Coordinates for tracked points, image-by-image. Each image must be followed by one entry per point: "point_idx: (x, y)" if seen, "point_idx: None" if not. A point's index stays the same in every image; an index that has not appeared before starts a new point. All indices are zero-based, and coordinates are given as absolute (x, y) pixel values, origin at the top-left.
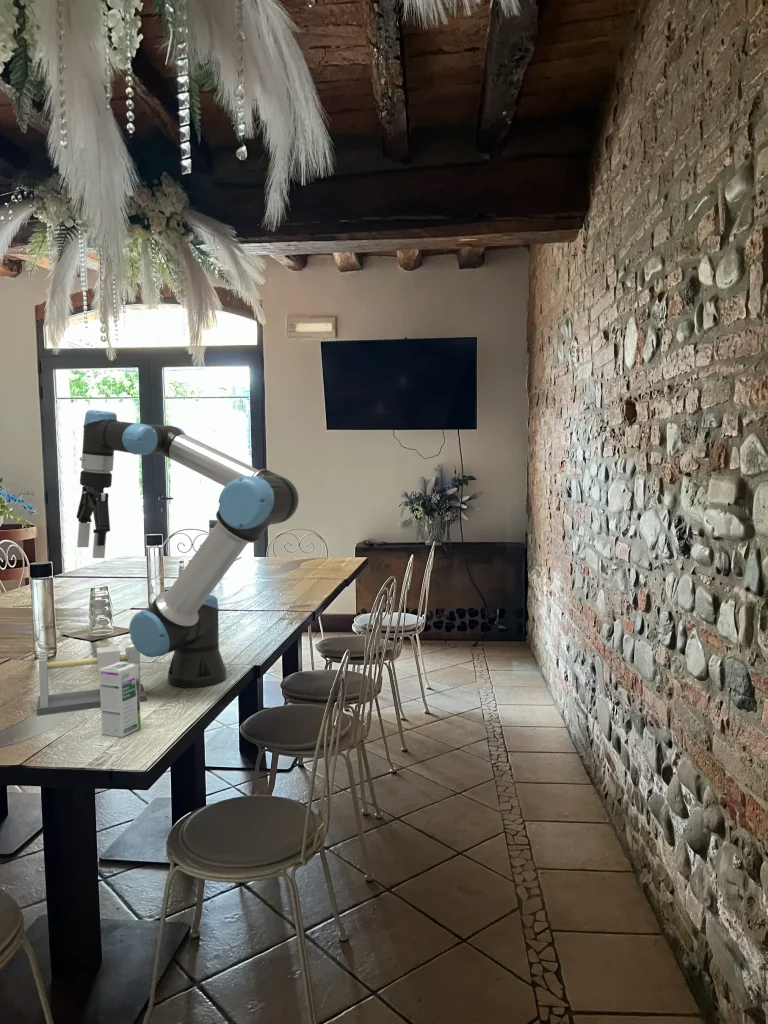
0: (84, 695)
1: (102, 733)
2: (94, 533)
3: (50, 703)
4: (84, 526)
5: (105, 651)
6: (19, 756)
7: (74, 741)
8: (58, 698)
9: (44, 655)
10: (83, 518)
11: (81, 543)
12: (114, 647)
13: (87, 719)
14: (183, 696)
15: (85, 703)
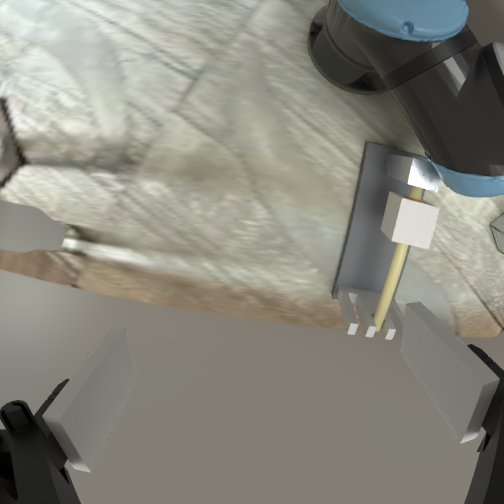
0: (374, 240)
1: (498, 250)
2: (460, 436)
3: (379, 289)
4: (85, 433)
5: (428, 233)
6: (488, 329)
7: (494, 279)
8: (363, 276)
9: (374, 329)
10: (68, 483)
11: (128, 373)
12: (409, 208)
13: (446, 252)
14: None
15: (409, 247)
